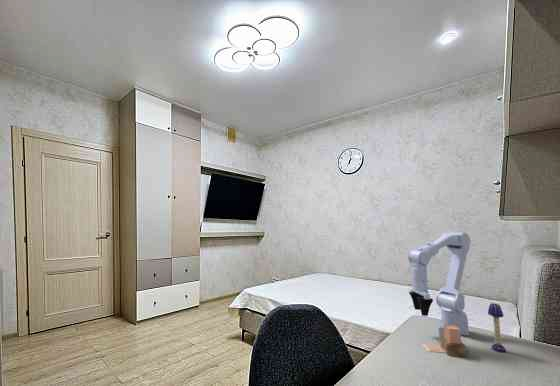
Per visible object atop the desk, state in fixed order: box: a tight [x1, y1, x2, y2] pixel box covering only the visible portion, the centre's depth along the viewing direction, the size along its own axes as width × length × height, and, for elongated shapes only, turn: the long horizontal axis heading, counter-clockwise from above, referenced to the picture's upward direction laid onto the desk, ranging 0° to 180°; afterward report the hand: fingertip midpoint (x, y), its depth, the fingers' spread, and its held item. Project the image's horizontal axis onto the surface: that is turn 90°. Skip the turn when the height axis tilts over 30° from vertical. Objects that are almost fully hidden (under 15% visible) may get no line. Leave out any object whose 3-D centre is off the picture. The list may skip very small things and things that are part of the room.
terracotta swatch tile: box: [422, 343, 446, 354], centre depth 101 cm, size 6×6×1 cm
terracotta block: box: [443, 325, 462, 344], centre depth 99 cm, size 4×4×5 cm
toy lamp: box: [487, 302, 507, 353], centre depth 101 cm, size 5×5×17 cm
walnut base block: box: [440, 337, 467, 358], centre depth 98 cm, size 6×6×4 cm
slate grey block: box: [438, 327, 444, 342], centre depth 107 cm, size 4×4×5 cm
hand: (421, 312), depth 112 cm, fingers open, 7 cm apart
